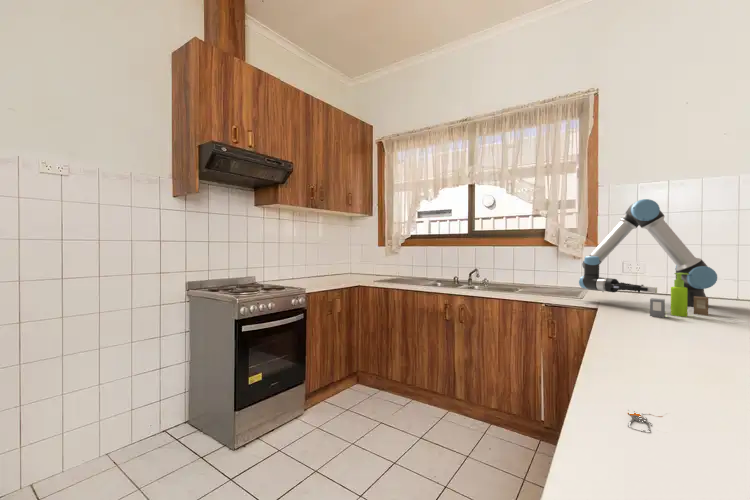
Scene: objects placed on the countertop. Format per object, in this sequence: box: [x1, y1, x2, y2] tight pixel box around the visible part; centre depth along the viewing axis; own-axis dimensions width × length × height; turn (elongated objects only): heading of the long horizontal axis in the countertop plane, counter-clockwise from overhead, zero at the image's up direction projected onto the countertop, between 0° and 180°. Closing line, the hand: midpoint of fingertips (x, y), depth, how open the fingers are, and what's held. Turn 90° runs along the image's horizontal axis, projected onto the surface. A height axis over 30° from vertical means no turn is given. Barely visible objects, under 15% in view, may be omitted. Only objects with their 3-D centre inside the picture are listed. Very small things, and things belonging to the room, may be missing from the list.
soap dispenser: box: [670, 272, 689, 317], centre depth 163 cm, size 6×7×20 cm
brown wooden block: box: [693, 296, 709, 316], centre depth 166 cm, size 5×5×8 cm
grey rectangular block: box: [649, 297, 666, 319], centre depth 161 cm, size 5×5×8 cm
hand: (656, 290), depth 171 cm, fingers closed
